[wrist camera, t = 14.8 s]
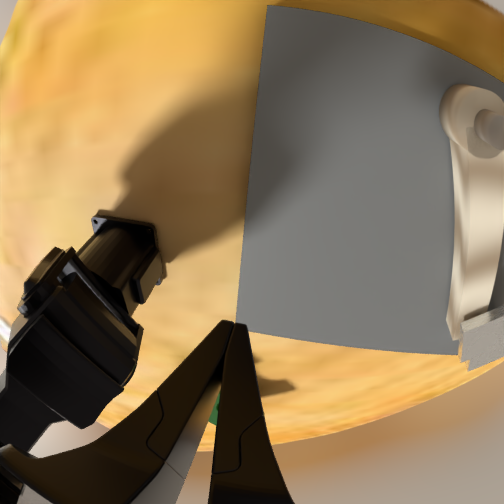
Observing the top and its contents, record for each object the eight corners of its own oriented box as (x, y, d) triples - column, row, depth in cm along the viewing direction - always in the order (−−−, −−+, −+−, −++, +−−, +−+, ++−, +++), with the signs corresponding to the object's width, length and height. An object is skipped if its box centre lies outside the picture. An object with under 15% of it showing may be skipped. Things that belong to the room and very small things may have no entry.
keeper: (445, 286, 21) (463, 332, 17) (506, 261, 18) (531, 302, 14) (447, 333, 25) (458, 374, 20) (500, 312, 22) (516, 350, 18)
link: (432, 86, 12) (466, 95, 9) (484, 82, 10) (523, 93, 7) (441, 321, 22) (452, 356, 19) (476, 311, 21) (490, 344, 17)
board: (237, 320, 28) (235, 328, 27) (269, 8, 12) (267, 5, 11) (470, 348, 26) (472, 355, 25) (580, 148, 10) (586, 153, 9)
